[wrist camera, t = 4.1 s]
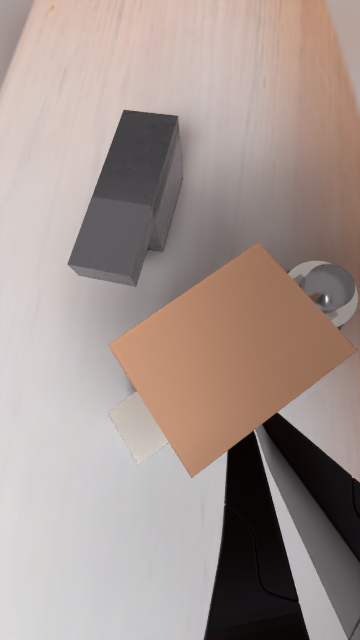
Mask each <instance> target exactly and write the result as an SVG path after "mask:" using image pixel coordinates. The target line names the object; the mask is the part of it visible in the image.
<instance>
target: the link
mask: <svg viewBox="0 0 360 640" xmlns="http://www.w3.org/2000/svg"><path fill="white" fill-rule="evenodd" d="M321 264H331V263H328V262H324V261H308V262H304V263H302V264H299V265H297V266H296V267H294V268H293V269H292V270H291V271H290V272H289V273H288V274H287V272H286V271H285V270H284V269H283V268H282V267H281V266H280V265H279V264H278V263H277V261H276V260H275V259H274V258H273V257H272V256H271V255H270V254H269V253H268V252H267V251H266V249H265V248H264V247H263V246H262V245H261V244H260V243H259V242H257V243H256V244H255V245H253V246H252V247H250V248H249V249H247V250H246V251H244V252H243V253H241V254H240V255H239V256H237V257H236V258H234V259H233V260H231V261H230V262H228V263H227V264H225V265H224V266H222V267H221V268H220V269H218V270H217V271H215V272H214V273H212V274H211V275H209V276H208V277H206V278H205V279H203V280H202V281H201V282H199V283H198V284H196V285H195V286H193V287H192V288H190V289H189V290H187V291H186V292H185V293H183V294H182V295H180V296H179V297H177V298H176V299H174V300H173V301H171V302H170V303H168V304H167V305H166V306H164V307H163V308H161V309H160V310H158V311H157V312H155V313H154V314H152V315H151V316H149V317H148V318H147V319H145V320H144V321H142V322H141V323H139V324H138V325H136V326H135V327H133V328H132V329H131V330H129V331H128V332H126V333H125V334H123V335H122V336H120V337H119V338H117V339H116V340H114V341H113V342H112V343H110V344H109V345H108V346H109V348H110V349H111V351H112V352H113V354H114V356H115V357H116V359H117V360H118V362H119V363H120V365H121V367H122V368H123V370H124V371H125V373H126V375H127V376H128V378H129V379H130V381H131V383H132V384H133V386H134V387H135V389H136V392H134V393H133V394H132V395H130V396H129V397H127V398H126V399H125V400H123V401H122V402H120V403H119V404H118V405H116V406H115V407H113V408H112V409H111V410H109V411H108V412H107V414H108V416H109V417H110V419H111V421H112V422H113V424H114V426H115V428H116V429H117V431H118V433H119V434H120V436H121V438H122V440H123V441H124V443H125V445H126V447H127V448H128V450H129V452H130V453H131V455H132V457H133V459H134V460H135V462H136V464H137V465H139V464H140V463H142V462H143V461H144V460H146V459H147V458H148V457H150V456H151V455H152V454H154V453H155V452H156V451H158V450H159V449H160V448H162V447H163V446H164V445H166V444H167V443H168V442H169V443H170V445H171V446H172V448H173V449H174V451H175V453H176V454H177V456H178V457H179V459H180V461H181V462H182V464H183V465H184V467H185V468H186V470H187V472H188V473H189V475H190V476H191V478H192V477H194V476H195V475H196V474H198V473H199V472H200V471H201V470H203V469H204V468H205V467H207V466H208V465H209V464H211V463H212V462H213V461H214V460H216V459H217V458H218V457H220V456H221V455H222V454H224V453H225V452H226V451H227V450H229V449H230V448H231V447H233V446H234V445H235V444H236V443H238V442H239V441H240V440H242V439H243V438H244V437H246V436H247V435H248V434H249V433H251V432H252V431H253V430H255V429H256V428H257V427H259V426H260V425H261V424H262V423H264V422H265V421H266V420H268V419H269V418H270V417H272V416H273V415H274V414H275V413H277V412H278V411H279V410H281V409H282V408H283V407H285V406H286V405H287V404H288V403H290V402H291V401H292V400H294V399H295V398H296V397H298V396H299V395H300V394H301V393H303V392H304V391H305V390H307V389H308V388H309V387H310V386H312V385H313V384H314V383H316V382H317V381H318V380H320V379H321V378H322V377H323V376H325V375H326V374H327V373H329V372H330V371H331V370H333V369H334V368H335V367H336V366H338V365H339V364H340V363H342V362H343V361H344V360H346V359H347V358H348V357H349V356H351V355H352V354H353V353H355V352H356V351H357V349H356V348H355V347H354V346H353V345H352V344H351V343H350V342H349V340H348V339H347V338H346V337H345V336H344V335H343V334H342V333H341V332H340V331H339V329H338V328H337V327H338V326H340V325H342V324H344V323H346V322H347V321H348V320H349V319H350V318H351V317H352V316H353V314H354V312H355V310H356V308H357V304H358V293H357V289H356V286H355V293H354V296H353V298H352V299H351V301H350V302H349V303H347V304H346V305H344V306H342V307H341V308H339V309H337V310H336V311H334V312H331V313H326V314H324V313H323V312H322V311H321V310H320V309H319V308H318V306H317V305H316V304H315V303H314V302H313V301H312V300H311V299H310V298H309V297H308V295H307V294H306V293H305V292H304V291H303V290H302V289H301V288H300V287H299V285H300V282H301V281H302V279H303V278H304V277H305V276H306V275H307V274H308V273H309V272H310V271H311V270H312V269H313V268H314V267H316V266H318V265H321Z"/></svg>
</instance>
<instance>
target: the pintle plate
mask: <svg viewBox="0 0 360 640" xmlns="http://www.w3.org/2000/svg"><path fill="white" fill-rule="evenodd" d="M289 272H290V271H288V272H287V274H288V273H289ZM299 287H300V288H301V289H302V290H303V291H304V292H305V293H306V294H307V295H308V297H309V298H310V299H311V300H312V301H313V302H314V303H315V304H316V305H317V306H318V308H319V309H320V310H321V311H322V312H323V313H324V314H326V313H331V312H334V311H336V310H337V309H339V308H341V307H342V306H344V305H346V304H347V303H349V302H350V301H351V299H352V298H353V296H354V293H355V284H354V281H353V278H352V277H351V275H350V274H349V273H348V272H347V271H346V270H345V269H343V268H342V267H340V266H337V265H334V264H321V265H318V266H316V267H314V268H313V269H312V270H311V271H310V272H309V273H308V274H307V275H306V276H305V277H304V278H303V279H302V281H301V282H300V285H299ZM342 326H343V324H342V325H340V326H338V327H337V328H338V329H339V330H340V329H341V327H342Z"/></svg>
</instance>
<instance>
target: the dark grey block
mask: <svg viewBox="0 0 360 640" xmlns="http://www.w3.org/2000/svg"><path fill="white" fill-rule="evenodd" d="M182 180H183V177H182V163H181V150H180V136H179V122H178V116H173V115H164V114H155V113H147V112H138V111H129V110H124V111H123V113H122V116H121V119H120V122H119V124H118V127H117V130H116V133H115V135H114V138H113V141H112V144H111V146H110V149H109V152H108V155H107V157H106V160H105V163H104V166H103V168H102V171H101V174H100V176H99V179H98V182H97V185H96V187H95V190H94V193H93V196H92V198H91V201H90V204H89V207H88V209H87V212H86V215H85V218H84V220H83V223H82V226H81V229H80V231H79V234H78V237H77V240H76V242H75V245H74V248H73V251H72V253H71V256H70V259H69V261H68V265H69V266H70V267H71V268H72V269H73V270H74V271H75V272H76V273H77V274H78V275H79V276H84V277H89V278H94V279H99V280H104V281H110V282H115V283H120V284H125V285H130V286H135V287H136V286H137V283H138V279H139V276H140V272H141V269H142V265H143V262H144V258H145V255H146V252H147V249H151V250H156V251H162V252H163V249H164V246H165V242H166V238H167V235H168V231H169V227H170V224H171V220H172V216H173V213H174V209H175V205H176V202H177V198H178V194H179V191H180V187H181V183H182Z"/></svg>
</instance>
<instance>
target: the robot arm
mask: <svg viewBox="0 0 360 640" xmlns="http://www.w3.org/2000/svg"><path fill="white" fill-rule="evenodd" d="M256 432H257V435H258V438H259V441H260V444H261V447H262V450H263V453H264V456H265V459H266V462H267V464H268V467H269V469H270V472H271V474H272V476H273V478H274V480H275V483H276V485H277V487H278V489H279V491H280V493H281V496H282V498H283V500H284V502H285V504H286V506H287V509H288V511H289V513H290V515H291V517H292V519H293V521H294V524H295V526H296V528H297V530H298V532H299V534H300V537H301V539H302V541H303V543H304V545H305V547H306V550H307V552H308V554H309V556H310V558H311V560H312V562H313V565H314V567H315V569H316V571H317V573H318V575H319V578H320V580H321V582H322V584H323V586H324V588H325V591H326V593H327V595H328V597H329V599H330V601H331V603H332V606H333V608H334V610H335V612H336V614H337V616H338V619H339V621H340V623H341V625H342V627H343V629H344V632H345V634H346V636H347V638H348V640H360V482H359V481H357V480H356V479H355V478H352V476H351V475H350V474H349V473H348V472H347V471H346V470H344V469H343V468H342V467H341V466H340V465H339V464H337V463H336V462H335V461H334V460H333V459H331V458H330V457H329V456H328V455H327V454H326V453H324V452H323V451H322V450H321V449H320V448H319V447H317V446H316V445H315V444H314V443H313V442H312V441H310V440H309V439H308V438H307V437H306V436H304V435H303V434H302V433H301V432H300V431H299V430H297V429H296V428H295V427H294V426H293V425H292V424H290V423H289V422H288V421H287V420H286V419H285V418H283V417H282V416H281V415H280V414H279V413H278V412H277V413H275V414H274V415H273V416H272V417H270V418H269V419H268V420H266V421H265V422H264V423H262V424H261V425H260V426H259V427H257V428H256ZM224 504H225V506H224V515H223V527H222V538H221V546H220V552H219V559H218V565H217V570H216V576H215V582H214V587H213V593H212V598H211V604H210V609H209V615H208V620H207V626H206V631H205V636H204V640H310V639H309V635H308V632H307V629H306V625H305V622H304V618H303V615H302V611H301V607H300V604H299V599H298V595H297V592H296V588H295V584H294V580H293V576H292V572H291V569H290V565H289V561H288V557H287V553H286V550H285V546H284V542H283V538H282V534H281V530H280V527H279V523H278V519H277V515H276V511H275V507H274V504H273V500H272V496H271V492H270V488H269V485H268V481H267V477H266V473H265V469H264V465H263V462H262V458H261V454H260V450H259V446H258V442H257V439H256V436H255V433H254V431H252V432H251V433H249V434H248V435H247V436H246V437H244V438H243V439H242V440H240V441H239V442H238V443H236V444H235V445H234V446H233V447H231V448H230V449H229V450H228V453H227V469H226V485H225V501H224Z"/></svg>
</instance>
